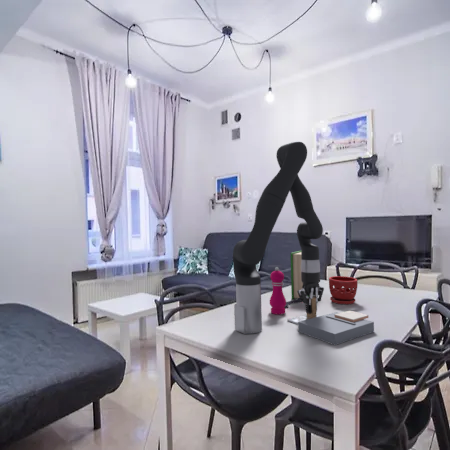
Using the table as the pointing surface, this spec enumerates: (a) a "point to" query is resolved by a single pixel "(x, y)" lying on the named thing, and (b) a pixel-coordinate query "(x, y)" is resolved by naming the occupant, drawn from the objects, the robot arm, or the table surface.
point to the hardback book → (296, 274)
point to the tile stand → (334, 328)
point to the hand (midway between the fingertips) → (311, 312)
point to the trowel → (308, 316)
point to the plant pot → (342, 289)
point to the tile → (351, 316)
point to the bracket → (292, 302)
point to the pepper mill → (277, 293)
